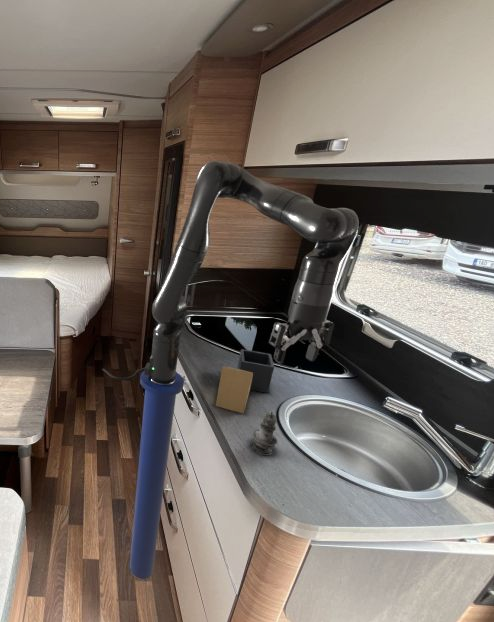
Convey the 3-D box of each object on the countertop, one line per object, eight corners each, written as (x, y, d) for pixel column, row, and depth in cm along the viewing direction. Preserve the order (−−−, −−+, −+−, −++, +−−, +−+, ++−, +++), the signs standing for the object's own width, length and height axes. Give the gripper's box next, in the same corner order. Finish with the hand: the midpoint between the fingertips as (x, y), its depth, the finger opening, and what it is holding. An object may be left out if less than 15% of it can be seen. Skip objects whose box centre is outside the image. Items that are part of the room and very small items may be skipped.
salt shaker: (246, 439, 93) (255, 403, 88) (268, 440, 92) (278, 404, 88) (255, 455, 87) (264, 418, 83) (278, 457, 87) (289, 419, 82)
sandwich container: (247, 389, 115) (255, 350, 110) (244, 415, 103) (253, 373, 97) (220, 382, 119) (227, 345, 114) (214, 406, 107) (222, 365, 101)
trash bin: (236, 386, 116) (241, 361, 112) (236, 372, 124) (241, 348, 121) (267, 393, 113) (274, 367, 109) (265, 378, 121) (271, 354, 117)
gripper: (325, 292, 81) (308, 351, 87) (271, 295, 79) (257, 355, 85) (353, 303, 74) (332, 366, 80) (294, 306, 72) (277, 370, 78)
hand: (294, 360), depth 83 cm, fingers open, 8 cm apart
